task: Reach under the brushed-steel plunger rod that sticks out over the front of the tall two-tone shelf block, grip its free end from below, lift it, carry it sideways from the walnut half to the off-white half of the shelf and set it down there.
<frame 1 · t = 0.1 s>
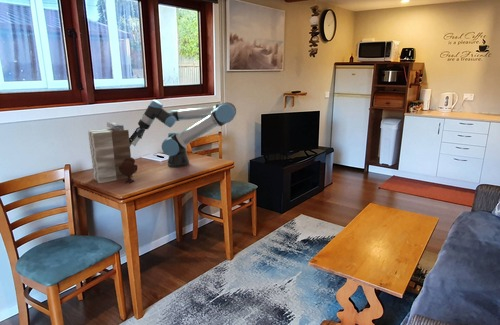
hand: (129, 147, 229), 15 cm above the table, tool tilted 35°, fingers open, 13 cm apart
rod: (114, 128, 213), point 30 cm above the table, touching shelf
shelf: (113, 177, 214), on the table
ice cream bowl: (129, 182, 207), on the table
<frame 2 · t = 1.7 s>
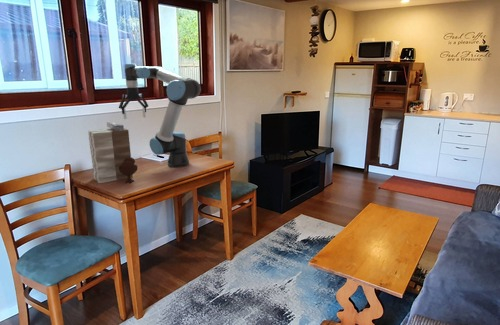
hand: (134, 117, 241), 33 cm above the table, tool pointing down, fingers open, 13 cm apart
nothing on the table moved.
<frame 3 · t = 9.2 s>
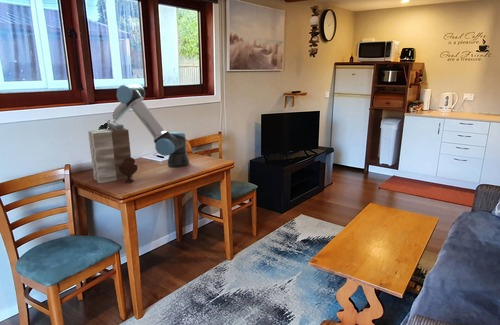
hand: (112, 121, 214), 34 cm above the table, tool pointing upward, fingers closed on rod, 3 cm apart
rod: (114, 128, 213), point 30 cm above the table, touching gripper, shelf
everything else where it was.
when the fingers open (36 cm above the table, at t = 13.2 s): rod drops 1 cm, resting on shelf.
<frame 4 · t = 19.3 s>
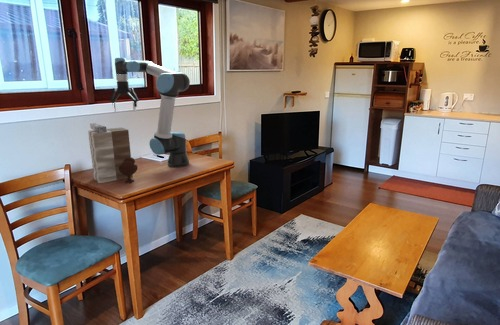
hand: (125, 111, 245), 37 cm above the table, tool pointing down, fingers open, 13 cm apart
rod: (97, 130, 207), point 30 cm above the table, touching shelf
everything else where it was.
at the end: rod 0.1 cm from the target spot, point 30.0 cm above the table; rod tilted 0°; the gripper is holding nothing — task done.
